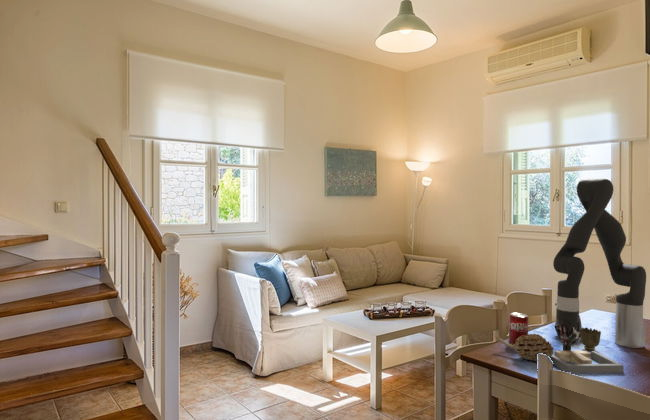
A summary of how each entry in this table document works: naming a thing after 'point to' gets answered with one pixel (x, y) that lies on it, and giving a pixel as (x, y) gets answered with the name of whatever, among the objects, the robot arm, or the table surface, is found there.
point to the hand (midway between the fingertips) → (566, 353)
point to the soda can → (517, 326)
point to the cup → (589, 338)
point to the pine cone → (530, 346)
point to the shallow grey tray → (590, 365)
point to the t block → (574, 356)
